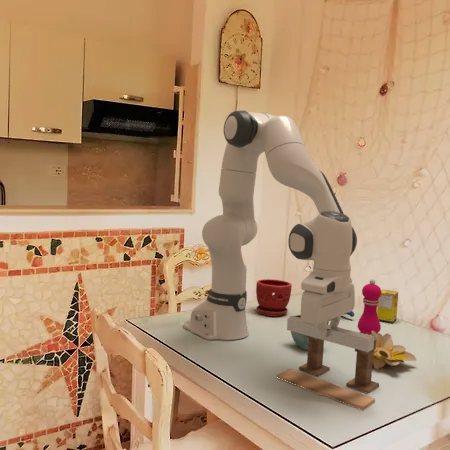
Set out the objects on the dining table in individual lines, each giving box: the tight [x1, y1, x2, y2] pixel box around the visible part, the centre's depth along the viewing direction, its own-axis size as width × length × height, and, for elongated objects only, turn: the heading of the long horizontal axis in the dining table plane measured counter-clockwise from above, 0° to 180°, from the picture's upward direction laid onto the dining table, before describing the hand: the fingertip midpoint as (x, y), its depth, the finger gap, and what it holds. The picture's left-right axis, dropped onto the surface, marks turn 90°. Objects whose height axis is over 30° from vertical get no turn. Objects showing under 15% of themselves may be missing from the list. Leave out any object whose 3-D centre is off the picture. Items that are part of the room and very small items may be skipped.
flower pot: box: [289, 314, 330, 351], centre depth 151 cm, size 9×9×9 cm
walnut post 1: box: [298, 335, 331, 377], centre depth 133 cm, size 6×6×12 cm
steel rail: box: [286, 315, 374, 352], centre depth 120 cm, size 22×3×3 cm, turn 49°
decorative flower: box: [367, 331, 417, 370], centre depth 138 cm, size 15×11×10 cm
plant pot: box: [255, 278, 293, 317], centre depth 186 cm, size 13×13×12 cm
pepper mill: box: [357, 279, 382, 335], centre depth 160 cm, size 7×7×20 cm
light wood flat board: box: [276, 368, 376, 411], centre depth 122 cm, size 24×6×1 cm, turn 49°
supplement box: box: [377, 289, 399, 324], centre depth 183 cm, size 6×6×11 cm
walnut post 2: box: [345, 340, 380, 395], centre depth 124 cm, size 6×6×12 cm
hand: (328, 335), depth 120 cm, fingers closed on steel rail, 3 cm apart
